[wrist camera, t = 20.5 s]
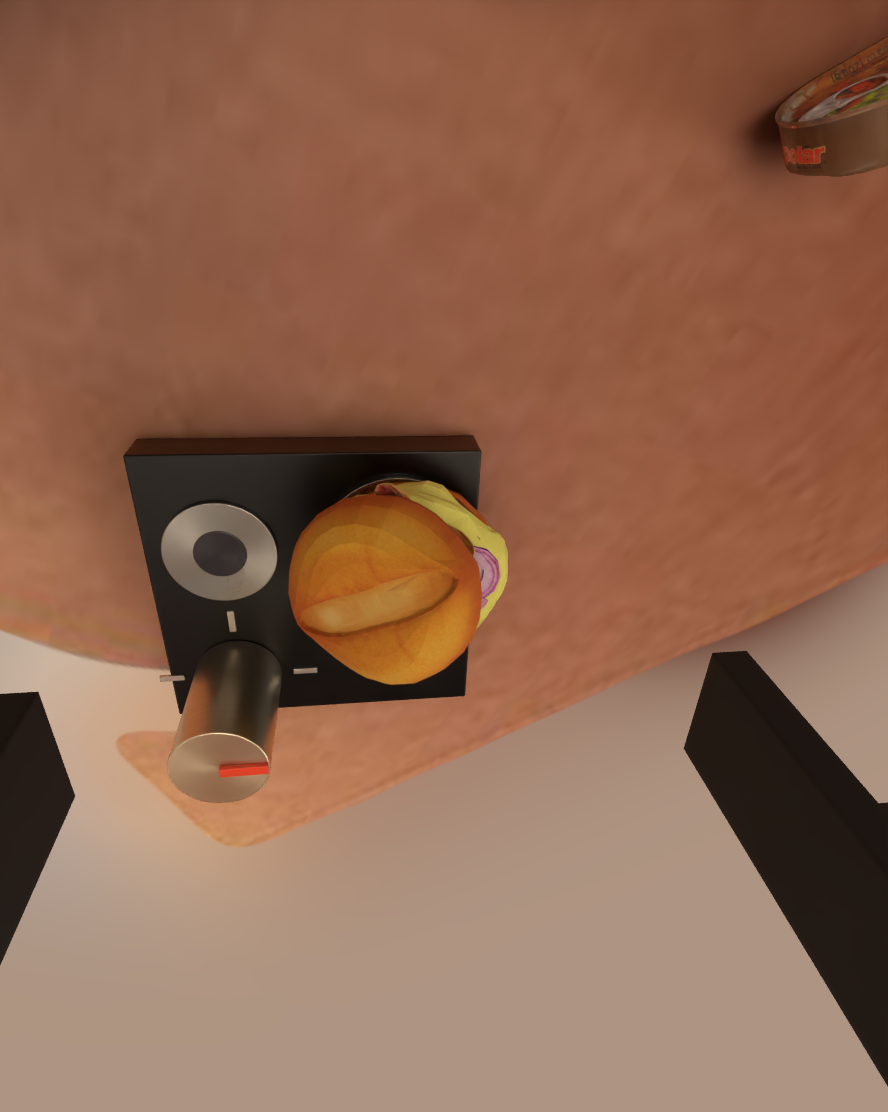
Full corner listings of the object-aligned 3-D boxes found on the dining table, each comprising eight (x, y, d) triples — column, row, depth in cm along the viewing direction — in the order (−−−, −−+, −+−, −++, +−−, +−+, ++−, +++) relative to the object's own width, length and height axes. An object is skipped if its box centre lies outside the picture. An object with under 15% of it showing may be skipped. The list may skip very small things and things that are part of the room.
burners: (148, 479, 33) (146, 483, 32) (474, 473, 35) (476, 477, 34) (176, 616, 37) (174, 621, 36) (466, 604, 39) (467, 608, 39)
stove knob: (203, 707, 40) (174, 812, 33) (190, 642, 38) (156, 741, 31) (285, 702, 41) (274, 803, 34) (278, 638, 38) (264, 733, 32)
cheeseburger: (438, 656, 40) (419, 766, 31) (289, 561, 38) (222, 648, 29) (539, 532, 36) (553, 614, 27) (380, 421, 35) (337, 469, 25)
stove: (124, 438, 34) (108, 456, 32) (473, 435, 36) (482, 451, 34) (182, 706, 43) (173, 736, 41) (458, 689, 46) (464, 716, 43)
